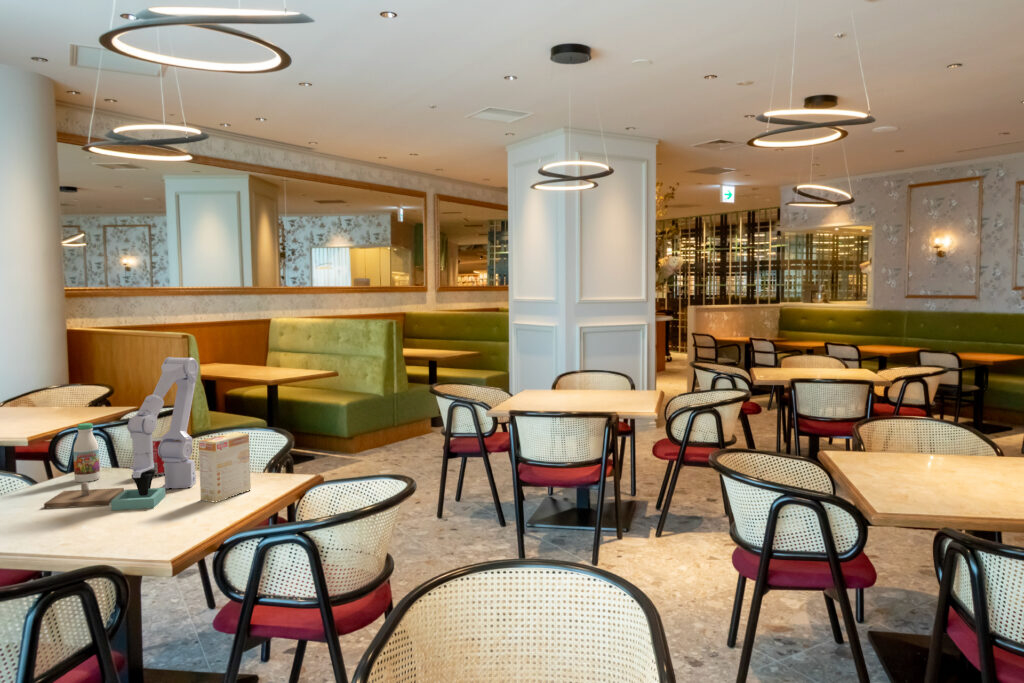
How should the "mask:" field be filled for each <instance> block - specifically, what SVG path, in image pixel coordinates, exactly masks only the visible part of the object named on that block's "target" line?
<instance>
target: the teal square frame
mask: <svg viewBox="0 0 1024 683" xmlns="http://www.w3.org/2000/svg"><path fill="white" fill-rule="evenodd" d="M164 497H165V498H166V489H165V488H161V487H159V488H158V487H156V488H154V487H152V488H150V489H148V494H147V495H142V496H140V495H139V492H138V488H134V489H133V488H131V489H130V488H129V489H124V491H123V492H121V493H120V494H119V495H118V496H116V497H115V498H114V499H113V500H111V503H110V505H111V507H110V508H111V511H124V509H128V510H143V509H142V508H147V509H155V508H156V507H157V506H158V505H159V504H160V503H161V502H162V501H163V500H164V499H165V498H164ZM163 498H164V499H163ZM162 499H163V500H162ZM161 500H162V501H161ZM160 501H161V502H160ZM159 502H160V503H159ZM158 503H159V504H158ZM157 504H158V505H157ZM156 505H157V506H156ZM155 506H156V507H155ZM154 507H155V508H154ZM122 509H123V510H122Z"/></svg>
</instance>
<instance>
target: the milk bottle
mask: <svg viewBox="0 0 1024 683" xmlns="http://www.w3.org/2000/svg"><path fill="white" fill-rule="evenodd" d="M76 426H77V432H78V434H77V437H76V440H75V443H74V445H73V472H74V481H75V482H77V483H84V482H88V483H90V482H94V480H95V481H97V479H98V480H100V478H101V467H100V449H99V448H100V447H99V444H98V441H97V439H96V438H95V436H94V433H93V430H94V428H93V427H94V424H93V423H91V422H84V423H79V424H77V425H76ZM89 481H90V482H89Z"/></svg>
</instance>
